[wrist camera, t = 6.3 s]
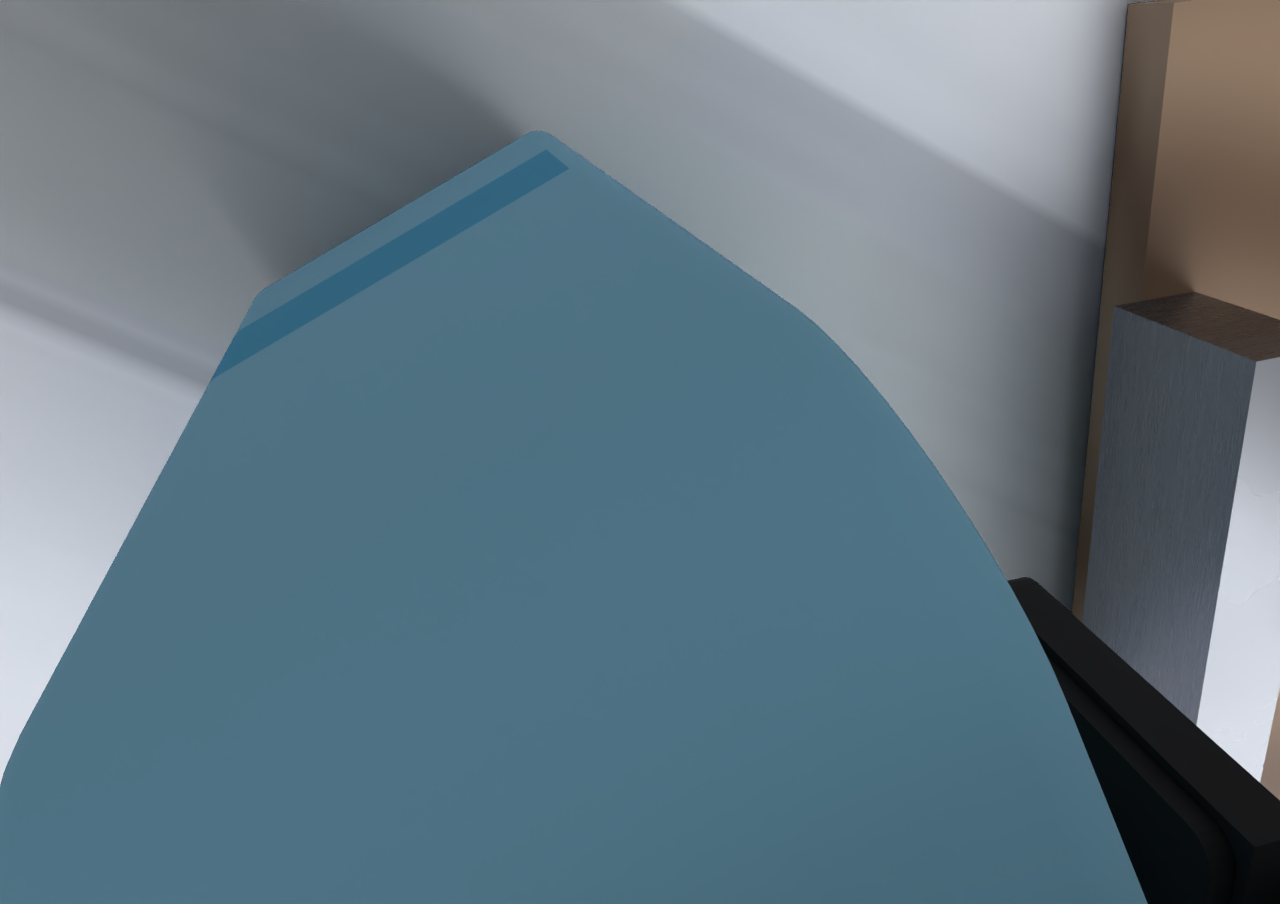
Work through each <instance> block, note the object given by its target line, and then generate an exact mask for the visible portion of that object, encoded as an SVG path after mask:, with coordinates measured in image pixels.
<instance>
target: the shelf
mask: <svg viewBox="0 0 1280 904" xmlns="http://www.w3.org/2000/svg"><path fill="white" fill-rule="evenodd" d="M1194 291H1195V292H1198V293H1201V294H1204V295H1207V296H1210V297H1213V298H1216V299H1219V300H1222V301H1225V302H1228V303H1231V304H1234V305H1237V306H1240V307H1243V308H1246V309H1249V310H1252V311H1255V312H1258V313H1261V314H1264V315H1267V316H1270V317H1273V318H1276V319H1279V320H1280V0H1158V1H1150V2H1142V3H1134V4H1129V5H1128V15H1127V26H1126V37H1125V48H1124V58H1123V69H1122V80H1121V91H1120V101H1119V112H1118V123H1117V134H1116V144H1115V155H1114V166H1113V177H1112V187H1111V198H1110V209H1109V220H1108V230H1107V241H1106V252H1105V263H1104V273H1103V284H1102V295H1101V306H1100V316H1099V327H1098V338H1097V349H1096V359H1095V370H1094V381H1093V392H1092V402H1091V413H1090V424H1089V435H1088V445H1087V456H1086V467H1085V478H1084V488H1083V499H1082V510H1081V521H1080V531H1079V542H1078V553H1077V564H1076V574H1075V585H1074V596H1073V607H1072V614H1073V615H1074V616H1075V617H1076V618H1077V619H1078V620H1080V621H1081V622H1082V623H1083V614H1084V603H1085V593H1086V583H1087V573H1088V563H1089V553H1090V543H1091V533H1092V523H1093V512H1094V502H1095V492H1096V482H1097V472H1098V462H1099V452H1100V442H1101V432H1102V421H1103V411H1104V401H1105V391H1106V381H1107V371H1108V361H1109V351H1110V341H1111V330H1112V320H1113V310H1114V306H1117V305H1122V304H1128V303H1133V302H1139V301H1144V300H1150V299H1156V298H1161V297H1167V296H1172V295H1178V294H1183V293H1189V292H1194ZM1260 783H1261V784H1262V785H1263V786H1264V787H1265V788H1266V789H1268V790H1269V791H1270V792H1271V793H1272V794H1273V795H1274V796H1275V797H1276V798H1278V799H1279V800H1280V688H1279V693H1278V698H1277V703H1276V708H1275V713H1274V717H1273V722H1272V727H1271V732H1270V737H1269V742H1268V747H1267V751H1266V756H1265V761H1264V766H1263V771H1262V776H1261V781H1260Z"/></svg>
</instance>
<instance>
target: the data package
mask: <svg viewBox="0 0 1280 904" xmlns="http://www.w3.org/2000/svg"><path fill="white" fill-rule="evenodd" d="M0 904H1148V903H1147V901H1146V898H1145V896H1144V893H1143V891H1142V888H1141V886H1140V883H1139V881H1138V878H1137V876H1136V873H1135V871H1134V868H1133V866H1132V863H1131V861H1130V858H1129V856H1128V853H1127V851H1126V848H1125V846H1124V843H1123V841H1122V838H1121V836H1120V833H1119V831H1118V828H1117V826H1116V823H1115V821H1114V818H1113V816H1112V813H1111V811H1110V808H1109V806H1108V803H1107V801H1106V798H1105V796H1104V793H1103V791H1102V789H1101V786H1100V784H1099V781H1098V779H1097V776H1096V774H1095V771H1094V769H1093V766H1092V764H1091V761H1090V759H1089V756H1088V754H1087V751H1086V749H1085V746H1084V744H1083V741H1082V739H1081V736H1080V734H1079V731H1078V729H1077V726H1076V724H1075V721H1074V719H1073V716H1072V714H1071V711H1070V709H1069V706H1068V704H1067V701H1066V699H1065V696H1064V694H1063V692H1062V689H1061V687H1060V685H1059V682H1058V680H1057V678H1056V675H1055V673H1054V671H1053V669H1052V666H1051V664H1050V662H1049V660H1048V658H1047V656H1046V654H1045V652H1044V650H1043V648H1042V646H1041V644H1040V641H1039V639H1038V637H1037V635H1036V633H1035V631H1034V629H1033V627H1032V625H1031V624H1030V622H1029V620H1028V618H1027V616H1026V614H1025V612H1024V611H1023V609H1022V607H1021V605H1020V603H1019V601H1018V600H1017V598H1016V596H1015V594H1014V592H1013V590H1012V588H1011V587H1010V585H1009V583H1008V582H1007V580H1006V578H1005V576H1004V575H1003V573H1002V571H1001V570H1000V568H999V566H998V564H997V563H996V561H995V559H994V558H993V556H992V554H991V553H990V551H989V549H988V547H987V546H986V544H985V543H984V541H983V539H982V538H981V536H980V535H979V533H978V531H977V530H976V528H975V527H974V525H973V524H972V522H971V520H970V519H969V517H968V516H967V514H966V512H965V511H964V509H963V508H962V506H961V505H960V503H959V502H958V500H957V499H956V497H955V496H954V494H953V493H952V491H951V490H950V488H949V487H948V485H947V484H946V482H945V481H944V479H943V478H942V476H941V475H940V473H939V472H938V470H937V469H936V467H935V466H934V465H933V463H932V462H931V460H930V459H929V458H928V456H927V455H926V453H925V452H924V451H923V449H922V448H921V447H920V445H919V444H918V442H917V441H916V440H915V438H914V437H913V435H912V434H911V433H910V431H909V430H908V429H907V427H906V426H905V425H904V423H903V422H902V421H901V420H900V418H899V417H898V416H897V414H896V413H895V412H894V410H893V409H892V408H891V407H890V405H889V404H888V403H887V401H886V400H885V399H884V398H883V396H882V395H881V394H880V393H879V392H878V390H877V389H876V388H875V387H874V386H873V384H872V383H871V382H870V381H869V380H868V378H867V377H866V376H865V375H864V374H863V372H862V371H861V370H860V369H859V368H858V367H857V366H856V364H855V363H854V362H853V361H852V360H851V359H850V358H849V357H848V356H847V355H846V354H845V353H844V351H843V350H842V349H841V348H840V347H839V346H838V345H837V344H836V343H835V342H834V341H833V340H832V339H831V338H830V337H829V336H828V335H827V334H826V333H825V332H824V331H823V330H822V329H820V328H819V327H818V326H817V325H816V324H815V323H814V322H813V321H812V320H810V319H809V318H808V317H807V316H806V315H804V314H803V313H802V312H801V311H799V310H798V309H797V308H795V307H794V306H793V305H791V304H790V303H788V302H787V301H785V300H784V299H783V298H781V297H780V296H778V295H777V294H776V293H774V292H773V291H771V290H770V289H769V288H767V287H766V286H764V285H763V284H761V283H760V282H759V281H757V280H756V279H754V278H753V277H752V276H750V275H749V274H747V273H746V272H744V271H743V270H742V269H740V268H739V267H737V266H736V265H735V264H733V263H732V262H730V261H729V260H727V259H726V258H725V257H723V256H722V255H720V254H719V253H718V252H716V251H715V250H713V249H712V248H710V247H709V246H708V245H706V244H705V243H703V242H702V241H701V240H699V239H698V238H696V237H695V236H694V235H692V234H691V233H689V232H688V231H686V230H685V229H684V228H682V227H681V226H679V225H678V224H677V223H675V222H674V221H672V220H671V219H669V218H668V217H667V216H665V215H664V214H662V213H661V212H660V211H658V210H657V209H655V208H654V207H652V206H651V205H650V204H648V203H647V202H645V201H644V200H643V199H641V198H640V197H638V196H637V195H635V194H634V193H633V192H631V191H630V190H628V189H627V188H626V187H624V186H623V185H621V184H620V183H619V182H617V181H616V180H614V179H613V178H611V177H610V176H609V175H607V174H606V173H604V172H603V171H602V170H600V169H599V168H597V167H596V166H594V165H593V164H592V163H590V162H589V161H587V160H586V159H585V158H583V157H582V156H580V155H579V154H577V153H576V152H575V151H573V150H572V149H570V148H569V147H568V146H566V145H565V144H563V143H562V142H560V141H559V140H558V139H556V138H555V137H553V136H552V135H550V134H549V133H546V132H542V131H533V132H530V133H528V134H526V135H524V136H523V137H521V138H519V139H517V140H516V141H514V142H512V143H511V144H509V145H507V146H506V147H504V148H502V149H500V150H499V151H497V152H495V153H494V154H492V155H490V156H489V157H487V158H485V159H484V160H482V161H480V162H478V163H477V164H475V165H473V166H472V167H470V168H468V169H467V170H465V171H463V172H461V173H460V174H458V175H456V176H455V177H453V178H451V179H450V180H448V181H446V182H445V183H443V184H441V185H439V186H438V187H436V188H434V189H433V190H431V191H429V192H428V193H426V194H424V195H423V196H421V197H419V198H417V199H416V200H414V201H412V202H411V203H409V204H407V205H406V206H404V207H402V208H400V209H399V210H397V211H395V212H394V213H392V214H390V215H389V216H387V217H385V218H384V219H382V220H380V221H378V222H377V223H375V224H373V225H372V226H370V227H368V228H367V229H365V230H363V231H362V232H360V233H358V234H356V235H355V236H353V237H351V238H350V239H348V240H346V241H345V242H343V243H341V244H339V245H338V246H336V247H334V248H333V249H331V250H329V251H328V252H326V253H324V254H323V255H321V256H319V257H317V258H316V259H314V260H312V261H311V262H309V263H307V264H306V265H304V266H302V267H300V268H299V269H297V270H295V271H294V272H292V273H290V274H289V275H287V276H285V277H284V278H282V279H280V280H278V281H277V282H275V283H273V284H272V285H270V286H268V287H267V288H265V289H263V290H262V291H261V292H260V293H259V294H258V295H257V296H256V298H255V299H254V301H253V303H252V305H251V306H250V308H249V310H248V312H247V314H246V316H245V318H244V319H243V321H242V323H241V325H240V327H239V329H238V331H237V332H236V334H235V336H234V338H233V340H232V342H231V344H230V345H229V347H228V349H227V351H226V353H225V355H224V357H223V359H222V360H221V362H220V364H219V366H218V368H217V370H216V372H215V373H214V375H213V377H212V379H211V381H210V383H209V385H208V386H207V388H206V390H205V392H204V394H203V396H202V398H201V399H200V401H199V403H198V405H197V407H196V409H195V411H194V412H193V414H192V416H191V418H190V420H189V422H188V424H187V425H186V427H185V429H184V431H183V433H182V435H181V437H180V438H179V440H178V442H177V444H176V446H175V448H174V450H173V452H172V453H171V455H170V457H169V459H168V461H167V463H166V465H165V466H164V468H163V470H162V472H161V474H160V476H159V478H158V479H157V481H156V483H155V485H154V487H153V489H152V491H151V492H150V494H149V496H148V498H147V500H146V502H145V504H144V505H143V507H142V509H141V511H140V513H139V515H138V517H137V518H136V520H135V522H134V524H133V526H132V528H131V530H130V531H129V533H128V535H127V537H126V539H125V541H124V543H123V545H122V546H121V548H120V550H119V552H118V554H117V556H116V558H115V559H114V561H113V563H112V565H111V567H110V569H109V571H108V572H107V574H106V576H105V578H104V580H103V582H102V584H101V585H100V587H99V589H98V591H97V593H96V595H95V597H94V598H93V600H92V602H91V604H90V606H89V608H88V610H87V611H86V613H85V615H84V617H83V619H82V621H81V623H80V625H79V626H78V628H77V630H76V632H75V634H74V636H73V638H72V639H71V641H70V643H69V645H68V647H67V649H66V651H65V652H64V654H63V656H62V658H61V660H60V662H59V664H58V665H57V667H56V669H55V671H54V673H53V675H52V677H51V678H50V680H49V682H48V684H47V686H46V688H45V690H44V691H43V693H42V695H41V697H40V699H39V701H38V703H37V704H36V706H35V708H34V710H33V712H32V714H31V716H30V718H29V719H28V721H27V723H26V725H25V727H24V729H23V731H22V732H21V734H20V736H19V739H18V741H17V743H16V745H15V748H14V750H13V752H12V755H11V757H10V759H9V762H8V764H7V766H6V769H5V771H4V774H3V778H2V782H1V785H0Z"/></svg>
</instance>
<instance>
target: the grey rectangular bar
mask: <svg viewBox="0 0 1280 904" xmlns="http://www.w3.org/2000/svg"><path fill="white" fill-rule="evenodd" d="M1083 624H1084V625H1085V626H1086V627H1087V628H1088V629H1090V630H1091V631H1092V632H1093V633H1094V634H1095V635H1096V636H1097V637H1098V638H1100V639H1101V640H1102V641H1103V642H1104V643H1105V644H1106V645H1107V646H1108V647H1110V648H1111V649H1112V650H1113V651H1114V652H1115V653H1116V654H1117V655H1118V656H1120V657H1121V658H1122V659H1123V660H1124V661H1125V662H1126V663H1127V664H1128V665H1130V666H1131V667H1132V668H1133V669H1134V670H1135V671H1136V672H1137V673H1138V674H1140V675H1141V676H1142V677H1143V678H1144V679H1145V680H1146V681H1147V682H1149V683H1150V684H1151V685H1152V686H1153V687H1154V688H1155V689H1156V690H1157V691H1159V692H1160V693H1161V694H1162V695H1163V696H1164V697H1165V698H1166V699H1167V700H1169V701H1170V702H1171V703H1172V704H1173V705H1174V706H1175V707H1176V708H1177V709H1179V710H1180V711H1181V712H1182V713H1183V714H1184V715H1185V716H1186V717H1187V718H1189V719H1190V720H1191V721H1192V722H1193V723H1194V724H1195V725H1196V726H1197V727H1199V728H1200V729H1201V730H1202V731H1203V732H1204V733H1205V734H1206V735H1207V736H1209V737H1210V738H1211V739H1212V740H1213V741H1214V742H1215V743H1216V744H1217V745H1219V746H1220V747H1221V748H1222V749H1223V750H1224V751H1225V752H1226V753H1227V754H1229V755H1230V756H1231V757H1232V758H1233V759H1234V760H1235V761H1236V762H1237V763H1239V764H1240V765H1241V766H1242V767H1243V768H1244V769H1245V770H1246V771H1247V772H1249V773H1250V774H1251V775H1252V776H1253V777H1254V778H1255V779H1256V780H1258V781H1259V782H1260V781H1261V776H1262V771H1263V766H1264V761H1265V756H1266V751H1267V747H1268V742H1269V737H1270V732H1271V727H1272V722H1273V717H1274V713H1275V708H1276V703H1277V698H1278V693H1279V688H1280V320H1279V319H1276V318H1273V317H1270V316H1267V315H1264V314H1261V313H1258V312H1255V311H1252V310H1249V309H1246V308H1243V307H1240V306H1237V305H1234V304H1231V303H1228V302H1225V301H1222V300H1219V299H1216V298H1213V297H1210V296H1207V295H1204V294H1201V293H1198V292H1195V291H1194V292H1189V293H1183V294H1178V295H1172V296H1167V297H1161V298H1156V299H1150V300H1144V301H1139V302H1133V303H1128V304H1122V305H1117V306H1114V310H1113V320H1112V330H1111V341H1110V351H1109V361H1108V371H1107V381H1106V391H1105V401H1104V411H1103V421H1102V432H1101V442H1100V452H1099V462H1098V472H1097V482H1096V492H1095V502H1094V512H1093V523H1092V533H1091V543H1090V553H1089V563H1088V573H1087V583H1086V593H1085V603H1084V614H1083Z"/></svg>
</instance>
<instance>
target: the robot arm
mask: <svg viewBox="0 0 1280 904" xmlns="http://www.w3.org/2000/svg"><path fill="white" fill-rule="evenodd" d="M1007 582H1008V583H1009V585H1010V587H1011V588H1012V590H1013V592H1014V594H1015V596H1016V598H1017V600H1018V601H1019V603H1020V605H1021V607H1022V609H1023V611H1024V612H1025V614H1026V616H1027V618H1028V620H1029V622H1030V624H1031V625H1032V627H1033V629H1034V631H1035V633H1036V635H1037V637H1038V639H1039V641H1040V644H1041V646H1042V648H1043V650H1044V652H1045V654H1046V656H1047V658H1048V660H1049V662H1050V664H1051V666H1052V669H1053V671H1054V673H1055V675H1056V678H1057V680H1058V682H1059V685H1060V687H1061V689H1062V692H1063V694H1064V696H1065V699H1066V701H1067V704H1068V706H1069V709H1070V711H1071V714H1072V716H1073V719H1074V721H1075V724H1076V726H1077V729H1078V731H1079V734H1080V736H1081V739H1082V741H1083V744H1084V746H1085V749H1086V751H1087V754H1088V756H1089V759H1090V761H1091V764H1092V766H1093V769H1094V771H1095V774H1096V776H1097V779H1098V781H1099V784H1100V786H1101V789H1102V791H1103V793H1104V796H1105V798H1106V801H1107V803H1108V806H1109V808H1110V811H1111V813H1112V816H1113V818H1114V821H1115V823H1116V826H1117V828H1118V831H1119V833H1120V836H1121V838H1122V841H1123V843H1124V846H1125V848H1126V851H1127V853H1128V856H1129V858H1130V861H1131V863H1132V866H1133V868H1134V871H1135V873H1136V876H1137V878H1138V881H1139V883H1140V886H1141V888H1142V891H1143V893H1144V896H1145V898H1146V901H1147V903H1148V904H1280V800H1279V799H1278V798H1276V797H1275V796H1274V795H1273V794H1272V793H1271V792H1270V791H1269V790H1268V789H1266V788H1265V787H1264V786H1263V785H1262V784H1261V783H1260V782H1259V781H1258V780H1256V779H1255V778H1254V777H1253V776H1252V775H1251V774H1250V773H1249V772H1247V771H1246V770H1245V769H1244V768H1243V767H1242V766H1241V765H1240V764H1239V763H1237V762H1236V761H1235V760H1234V759H1233V758H1232V757H1231V756H1230V755H1229V754H1227V753H1226V752H1225V751H1224V750H1223V749H1222V748H1221V747H1220V746H1219V745H1217V744H1216V743H1215V742H1214V741H1213V740H1212V739H1211V738H1210V737H1209V736H1207V735H1206V734H1205V733H1204V732H1203V731H1202V730H1201V729H1200V728H1199V727H1197V726H1196V725H1195V724H1194V723H1193V722H1192V721H1191V720H1190V719H1189V718H1187V717H1186V716H1185V715H1184V714H1183V713H1182V712H1181V711H1180V710H1179V709H1177V708H1176V707H1175V706H1174V705H1173V704H1172V703H1171V702H1170V701H1169V700H1167V699H1166V698H1165V697H1164V696H1163V695H1162V694H1161V693H1160V692H1159V691H1157V690H1156V689H1155V688H1154V687H1153V686H1152V685H1151V684H1150V683H1149V682H1147V681H1146V680H1145V679H1144V678H1143V677H1142V676H1141V675H1140V674H1138V673H1137V672H1136V671H1135V670H1134V669H1133V668H1132V667H1131V666H1130V665H1128V664H1127V663H1126V662H1125V661H1124V660H1123V659H1122V658H1121V657H1120V656H1118V655H1117V654H1116V653H1115V652H1114V651H1113V650H1112V649H1111V648H1110V647H1108V646H1107V645H1106V644H1105V643H1104V642H1103V641H1102V640H1101V639H1100V638H1098V637H1097V636H1096V635H1095V634H1094V633H1093V632H1092V631H1091V630H1090V629H1088V628H1087V627H1086V626H1085V625H1084V624H1083V623H1082V622H1081V621H1080V620H1078V619H1077V618H1076V617H1075V616H1074V615H1073V614H1072V613H1071V612H1070V611H1068V610H1067V609H1066V608H1065V607H1064V606H1063V605H1062V604H1061V603H1060V602H1058V601H1057V600H1056V599H1055V598H1054V597H1053V596H1052V595H1051V594H1050V593H1048V592H1047V591H1046V590H1045V589H1044V588H1043V587H1042V586H1041V585H1039V584H1038V583H1037V582H1036V581H1034V580H1033V579H1031V578H1027V577H1023V578H1019V579H1014V580H1009V581H1007Z"/></svg>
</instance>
